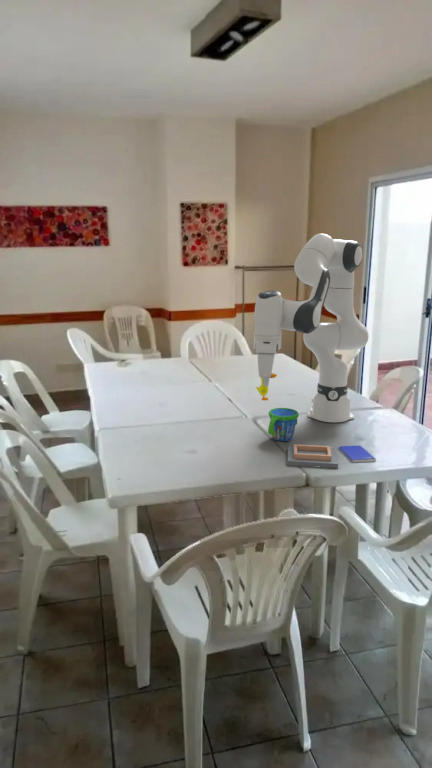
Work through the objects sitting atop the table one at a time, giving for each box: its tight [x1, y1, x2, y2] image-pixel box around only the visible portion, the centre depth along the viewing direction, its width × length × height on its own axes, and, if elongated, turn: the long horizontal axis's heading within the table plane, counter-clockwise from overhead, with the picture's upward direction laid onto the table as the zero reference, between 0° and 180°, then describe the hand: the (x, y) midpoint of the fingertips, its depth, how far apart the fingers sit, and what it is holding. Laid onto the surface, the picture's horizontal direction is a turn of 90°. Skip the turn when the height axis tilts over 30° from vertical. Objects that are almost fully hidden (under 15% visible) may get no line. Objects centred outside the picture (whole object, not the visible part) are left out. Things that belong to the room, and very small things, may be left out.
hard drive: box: [338, 444, 376, 463], centre depth 191 cm, size 2×8×12 cm
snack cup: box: [267, 407, 299, 442], centre depth 205 cm, size 16×10×10 cm
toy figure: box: [255, 372, 278, 401], centre depth 183 cm, size 7×4×12 cm, turn 95°
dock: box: [286, 443, 339, 469], centre depth 187 cm, size 14×16×3 cm
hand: (266, 384), depth 184 cm, fingers closed on toy figure, 2 cm apart
